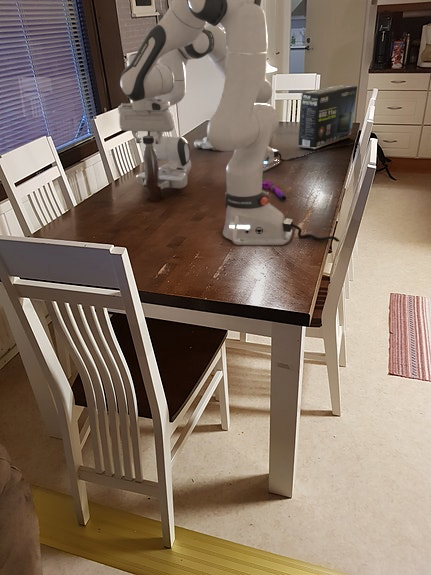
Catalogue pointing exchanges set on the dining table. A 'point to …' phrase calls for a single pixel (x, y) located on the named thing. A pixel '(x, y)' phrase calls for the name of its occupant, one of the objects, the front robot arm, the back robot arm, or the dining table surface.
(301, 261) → the dining table surface
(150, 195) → the bottle
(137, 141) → the front robot arm
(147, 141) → the cap
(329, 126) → the router box
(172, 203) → the dining table surface
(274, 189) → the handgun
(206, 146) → the fossil
